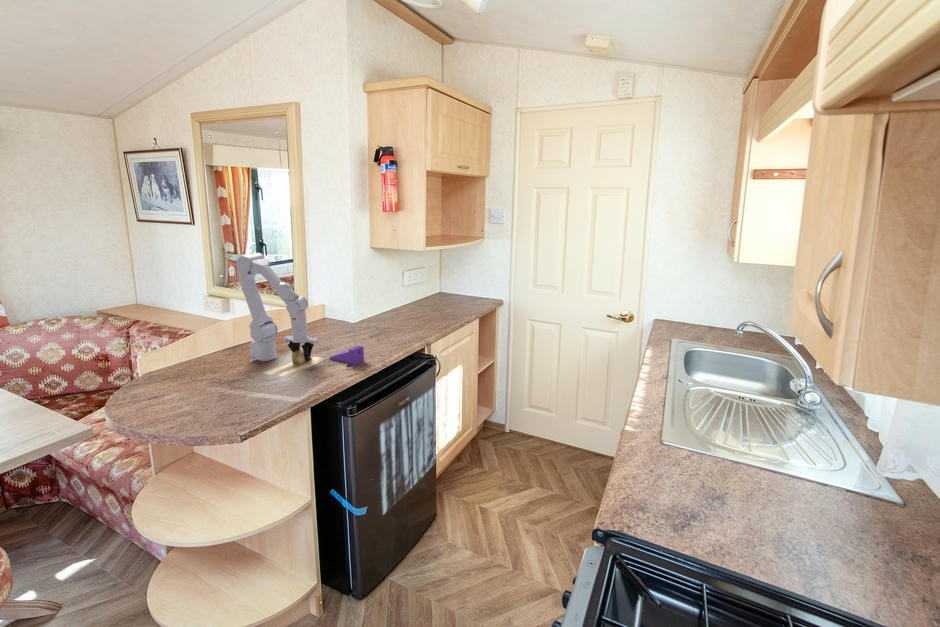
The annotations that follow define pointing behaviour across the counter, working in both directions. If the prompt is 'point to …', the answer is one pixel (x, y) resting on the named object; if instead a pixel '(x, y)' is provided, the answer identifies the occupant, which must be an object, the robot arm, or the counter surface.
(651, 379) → the counter surface
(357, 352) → the bracket
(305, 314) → the robot arm
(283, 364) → the board
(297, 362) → the block
